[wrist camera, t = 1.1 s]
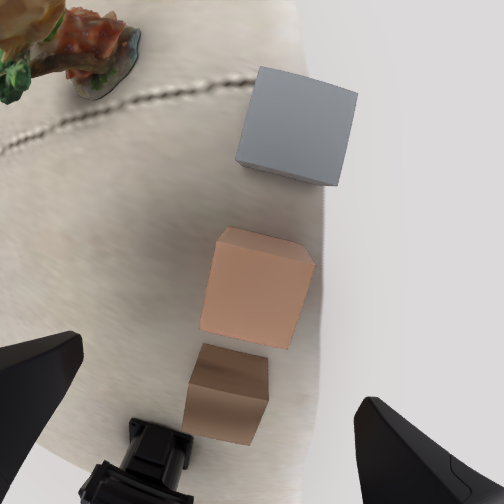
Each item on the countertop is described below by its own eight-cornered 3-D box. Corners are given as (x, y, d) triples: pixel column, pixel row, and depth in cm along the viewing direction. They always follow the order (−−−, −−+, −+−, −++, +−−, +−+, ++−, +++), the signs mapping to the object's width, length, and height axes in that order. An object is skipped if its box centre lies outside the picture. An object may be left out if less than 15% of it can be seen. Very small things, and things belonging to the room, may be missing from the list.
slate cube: (318, 185, 18) (337, 186, 13) (242, 166, 18) (235, 159, 13) (335, 114, 17) (358, 93, 12) (260, 94, 17) (260, 65, 12)
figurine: (115, 11, 15) (10, -82, 1) (172, 50, 16) (58, -87, 2) (44, 95, 17) (-95, 65, 2) (88, 144, 18) (-91, 131, 3)
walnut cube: (252, 402, 22) (249, 445, 18) (194, 389, 22) (181, 430, 17) (267, 357, 21) (268, 400, 16) (203, 342, 21) (189, 382, 16)
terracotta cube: (282, 312, 20) (287, 349, 15) (213, 295, 20) (198, 329, 15) (302, 244, 19) (315, 265, 14) (228, 226, 19) (216, 240, 14)
